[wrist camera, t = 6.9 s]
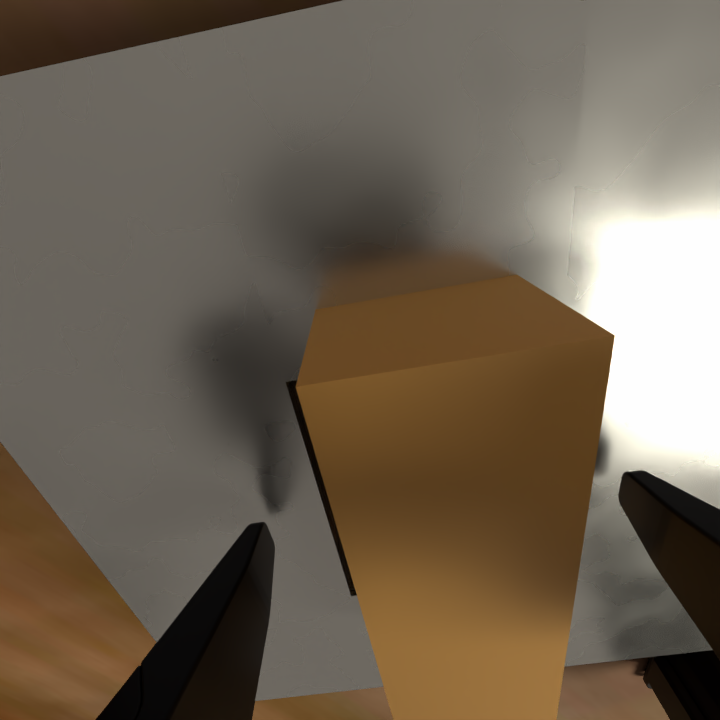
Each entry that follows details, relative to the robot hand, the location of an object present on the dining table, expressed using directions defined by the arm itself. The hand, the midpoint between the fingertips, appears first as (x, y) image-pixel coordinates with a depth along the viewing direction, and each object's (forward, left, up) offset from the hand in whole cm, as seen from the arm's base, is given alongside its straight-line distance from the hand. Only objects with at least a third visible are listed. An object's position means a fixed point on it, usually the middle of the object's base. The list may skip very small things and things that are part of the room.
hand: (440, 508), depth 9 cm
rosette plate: (0, 0, -6) cm, 6 cm away
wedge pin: (0, 0, -4) cm, 5 cm away
